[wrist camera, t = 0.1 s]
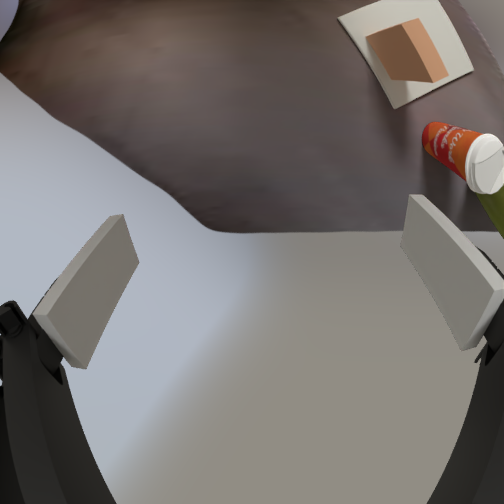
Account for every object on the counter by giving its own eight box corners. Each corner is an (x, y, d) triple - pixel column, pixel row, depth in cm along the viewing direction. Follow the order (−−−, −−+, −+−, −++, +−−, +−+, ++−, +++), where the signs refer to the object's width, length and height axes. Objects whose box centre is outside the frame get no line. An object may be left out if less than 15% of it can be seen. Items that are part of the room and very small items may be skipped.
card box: (365, 36, 27) (401, 24, 18) (379, 30, 26) (418, 17, 17) (391, 79, 30) (433, 83, 21) (404, 73, 29) (449, 75, 20)
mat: (337, 18, 26) (338, 17, 26) (426, -13, 20) (428, -14, 20) (393, 108, 33) (395, 109, 32) (471, 69, 27) (473, 69, 26)
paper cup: (437, 105, 31) (497, 123, 19) (460, 141, 34) (517, 171, 22) (406, 136, 35) (461, 165, 23) (432, 172, 37) (484, 210, 25)
